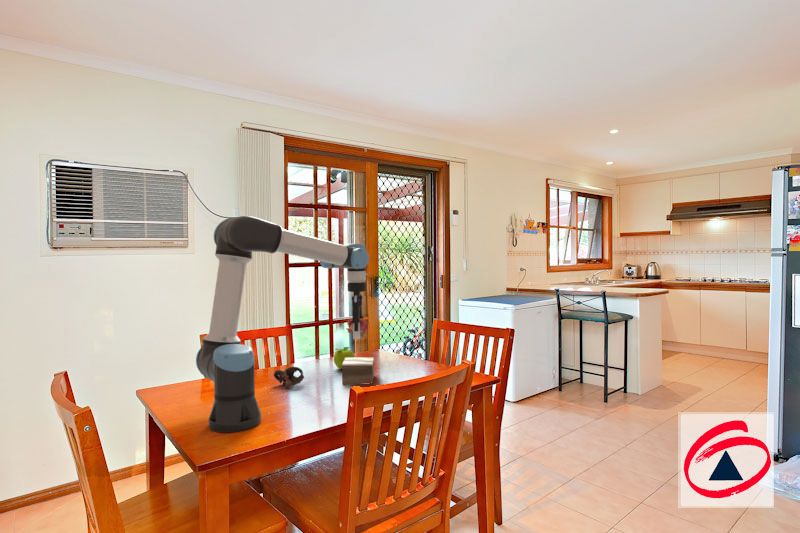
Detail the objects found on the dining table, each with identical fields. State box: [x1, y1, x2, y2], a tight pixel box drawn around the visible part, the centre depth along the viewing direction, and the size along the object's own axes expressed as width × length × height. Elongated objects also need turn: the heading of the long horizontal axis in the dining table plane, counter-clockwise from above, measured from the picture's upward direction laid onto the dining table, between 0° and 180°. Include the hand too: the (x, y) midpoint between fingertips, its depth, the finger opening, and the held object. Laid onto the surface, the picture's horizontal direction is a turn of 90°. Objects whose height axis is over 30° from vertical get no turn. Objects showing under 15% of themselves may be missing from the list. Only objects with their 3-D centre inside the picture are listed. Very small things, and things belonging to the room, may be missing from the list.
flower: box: [346, 318, 370, 338], centre depth 184 cm, size 10×9×8 cm
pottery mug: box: [273, 366, 305, 389], centre depth 179 cm, size 12×10×8 cm
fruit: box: [333, 346, 356, 370], centre depth 203 cm, size 9×9×10 cm
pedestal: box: [341, 356, 375, 386], centre depth 185 cm, size 12×12×8 cm
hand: (357, 336), depth 185 cm, fingers closed on flower, 9 cm apart
